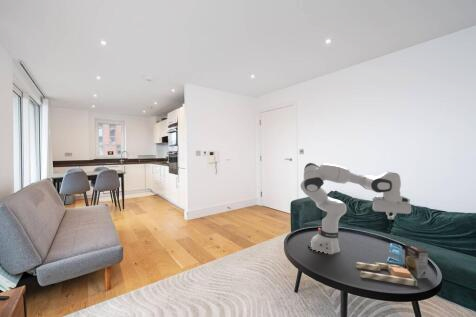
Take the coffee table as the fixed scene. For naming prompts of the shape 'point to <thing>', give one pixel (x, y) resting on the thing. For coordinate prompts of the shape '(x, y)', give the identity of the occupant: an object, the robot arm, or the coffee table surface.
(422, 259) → the coffee box
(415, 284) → the birch trap lane
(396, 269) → the terracotta block
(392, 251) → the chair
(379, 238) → the coffee table surface
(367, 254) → the coffee table surface
